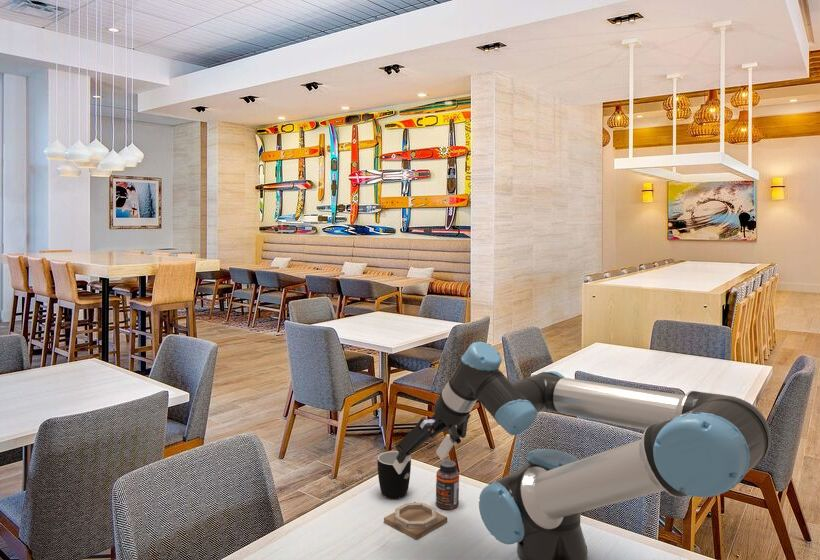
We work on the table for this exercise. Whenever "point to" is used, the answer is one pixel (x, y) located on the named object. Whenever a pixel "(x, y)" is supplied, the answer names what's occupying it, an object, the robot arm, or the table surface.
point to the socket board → (415, 519)
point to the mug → (392, 476)
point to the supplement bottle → (447, 485)
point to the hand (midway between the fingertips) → (418, 462)
